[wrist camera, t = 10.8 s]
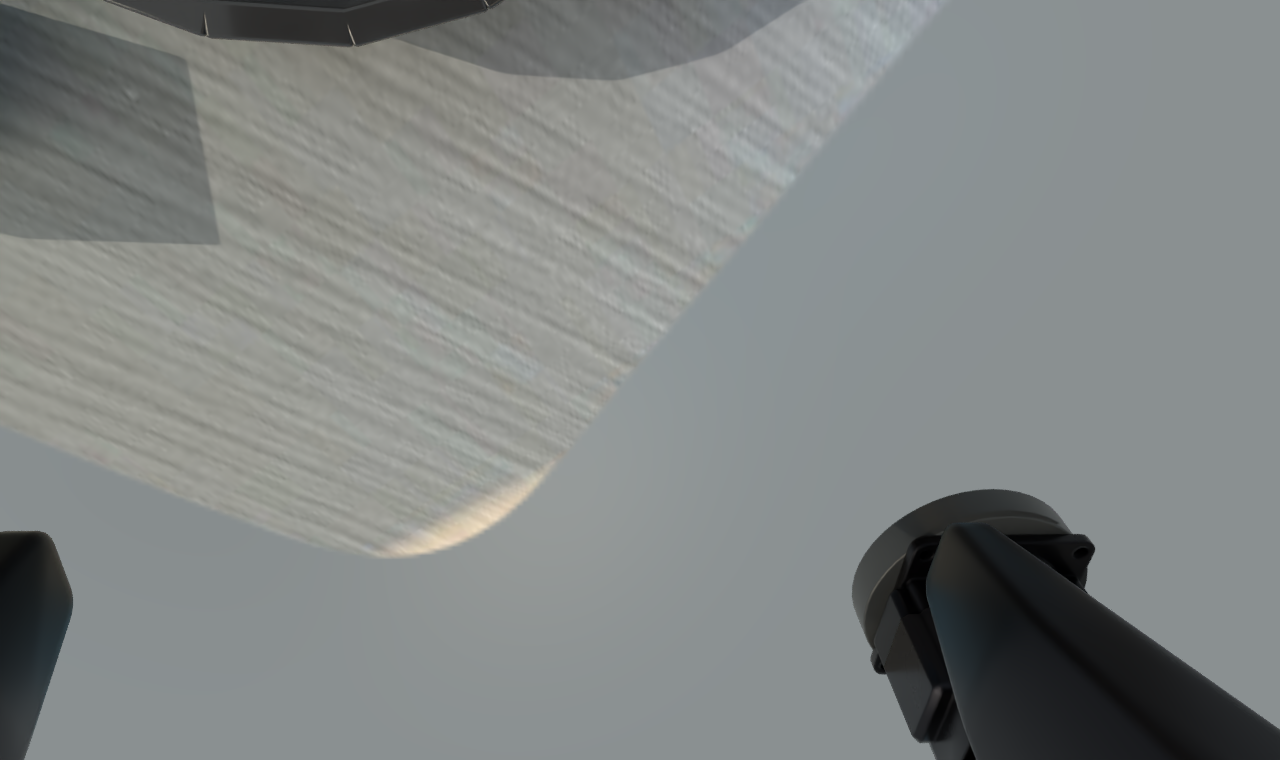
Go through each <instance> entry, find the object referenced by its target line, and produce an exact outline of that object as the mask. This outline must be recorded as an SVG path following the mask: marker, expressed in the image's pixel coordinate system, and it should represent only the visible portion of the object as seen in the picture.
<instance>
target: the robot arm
mask: <svg viewBox="0 0 1280 760" xmlns="http://www.w3.org/2000/svg"><path fill="white" fill-rule="evenodd" d="M925 550H926V551H925ZM923 551H924V552H923ZM1094 552H1095V546H1094V544H1093V543H1092V542H1091V540H1090V539H1089V538H1088V537H1087V536H1086V535H1083V534H1023V535H1004V534H1002V533H1001V532H999V531H998V530H997V529H995V528H994V527H992V526H990V525H988V524H986V523H953V524H950V525H949V526H948V527H947V528H946V529H945V530H944V532H943V534H942V535H929V536H921V537H918V538H916V539H915V540H913V541H912V542H911V543H910V545H909V547H908V549H907V552H906V555H905V558H904V561H903V564H902V567H901V570H900V572H899V575H898V578H897V581H896V584H895V587H894V590H893V591H892V592H891V594H890V595H889V597H888V600H887V603H886V606H885V609H884V612H883V615H882V618H881V621H880V624H879V627H878V629H877V632H876V635H875V638H874V648H873V651H872V654H871V659H870V661H871V663H872V666H873V668H874V670H875V672H876V673H878V674H887V676H888V679H889V681H890V683H891V686H892V688H893V691H894V693H895V696H896V698H897V700H898V703H899V705H900V708H901V710H902V712H903V715H904V718H905V720H906V722H907V725H908V727H909V730H910V732H911V735H912V736H913V737H914V738H915V739H916V740H917V742H919V743H929V744H930V747H931V749H932V752H933V754H934V756H935V759H936V760H1280V729H1278V728H1277V727H1275V726H1274V725H1273V724H1271V723H1270V722H1268V721H1267V720H1266V719H1264V718H1263V717H1261V716H1260V715H1258V714H1257V713H1256V712H1254V711H1253V710H1251V709H1250V708H1248V707H1247V706H1246V705H1244V704H1243V703H1242V702H1240V701H1239V700H1237V699H1236V698H1234V697H1233V696H1232V695H1230V694H1229V693H1227V692H1226V691H1224V690H1223V689H1222V688H1220V687H1219V686H1217V685H1216V684H1215V683H1213V682H1212V681H1210V680H1209V679H1208V678H1206V677H1205V676H1203V675H1202V674H1200V673H1199V672H1198V671H1196V670H1195V669H1193V668H1192V667H1190V666H1189V665H1187V664H1186V663H1185V662H1183V661H1182V660H1181V659H1179V658H1178V657H1176V656H1175V655H1173V654H1172V653H1171V652H1169V651H1168V650H1166V649H1165V648H1164V647H1162V646H1161V645H1159V644H1158V643H1156V642H1155V641H1154V640H1152V639H1151V638H1149V637H1148V636H1147V635H1145V634H1144V633H1142V632H1141V631H1139V630H1138V629H1137V628H1135V627H1134V626H1132V625H1131V624H1129V623H1128V622H1127V621H1125V620H1124V619H1123V618H1121V617H1120V616H1118V615H1117V614H1115V613H1114V612H1113V611H1111V610H1110V609H1108V608H1107V607H1105V606H1104V605H1103V604H1101V603H1100V602H1098V601H1097V600H1096V599H1094V598H1093V597H1091V596H1090V595H1089V594H1088V593H1087V591H1086V590H1085V588H1084V587H1083V586H1082V584H1081V583H1080V581H1081V579H1082V577H1083V575H1084V573H1085V571H1086V569H1087V567H1088V565H1089V563H1090V561H1091V559H1092V557H1093V555H1094ZM72 596H73V595H72V591H71V587H70V584H69V582H68V579H67V576H66V574H65V571H64V568H63V566H62V563H61V560H60V558H59V555H58V552H57V550H56V547H55V544H54V542H53V540H52V538H51V537H50V536H48V534H46V533H44V532H40V531H4V532H0V760H24V758H25V755H26V752H27V750H28V747H29V744H30V741H31V738H32V735H33V732H34V729H35V725H36V723H37V720H38V716H39V714H40V711H41V708H42V704H43V701H44V698H45V695H46V692H47V689H48V686H49V683H50V680H51V676H52V674H53V671H54V667H55V665H56V662H57V658H58V655H59V652H60V649H61V646H62V643H63V640H64V637H65V634H66V631H67V628H68V625H69V622H70V618H71V615H72V608H73V597H72Z"/></svg>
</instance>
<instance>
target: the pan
mask: <svg viewBox="0 0 1280 760" xmlns="http://www.w3.org/2000/svg"><path fill="white" fill-rule="evenodd" d="M103 1H106V2H109V3H111V4H114V5H117V6H120V7H122V8H125V9H128V10H131V11H133V12H136V13H139V14H141V15H144V16H147V17H150V18H152V19H155V20H158V21H161V22H163V23H166V24H169V25H172V26H174V27H177V28H180V29H183V30H185V31H188V32H191V33H194V34H196V35H199V36H206V35H207V37H209V38H212V39H228V40H243V41H259V42H275V43H290V44H306V45H322V46H337V47H352V46H353V45H354V46H357V47H359V46H362V45H366V44H370V43H373V42H377V41H381V40H384V39H388V38H392V37H396V36H399V35H403V34H407V33H410V32H414V31H418V30H421V29H425V28H429V27H433V26H436V25H440V24H444V23H447V22H451V21H455V20H458V19H462V18H466V17H470V16H473V15H477V14H481V13H484V12H486V11H487V10H488V9H493V8H494V7H496V6H497V5H499V4H500V3H501V2H503V1H504V0H103Z"/></svg>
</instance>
